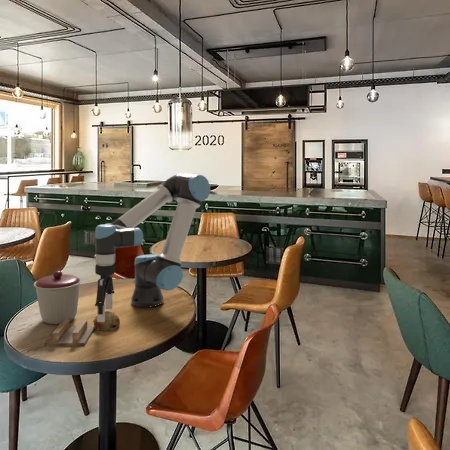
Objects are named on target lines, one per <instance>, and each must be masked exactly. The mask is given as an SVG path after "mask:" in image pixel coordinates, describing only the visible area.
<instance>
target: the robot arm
mask: <svg viewBox="0 0 450 450" xmlns="http://www.w3.org/2000/svg"><path fill="white" fill-rule="evenodd" d="M210 193H211V184H210V183H209V179H207V177H206V176H204V175H203V174H198V173H185V172H183V173H177V174H175V175H173V176H170V177H169V178H168V179H166V180H165V181H163V182H162V183H160V184H159V185H157V187H156V190H155V191H153V192H152V193H151V194H149V195H148V196H147V197H145V198H144V199H142V200H141V201H140V202H138V203H137V204H136V205H134V206H133V207H132V208H130V209H129V210H128V211H125V213H123V214H122V215H121V216H120V217H118V218H117V219H115V221H113V222H108V223H105V224H98V225H97V226H96V227H95V233H94V238H95V241H94V242H95V245H94V246H95V250H94V251H95V254H94V256H93V257H94V259H95V267H94V269H95V275H98V276H100V278H98V279H97V291H96V299H95V301H96V302H95V304H94V306H95V307H96V308H97V309H96V311H97V313H96V316H97V322H105V311H106V310H113V294H115V290H114V289H115V288H114V283H113V282H114V281H113V275H114V274H116V264H115V263H116V249H119V248H129V247H137V246H140V245H142V243H143V241H144V234H143V231H142V229H141V228H139V227H137V226H138V225H139V224H141V223H142V222H143V221H145V220H146V219H147V218H149V217H150V216H151V215H153V214H154V213H155V212H157V210H159V209H160V208H161V207H163V206H165V204H167V203H171V202H173V201H174V200H176V202H177V206H176V209H175V211H174V214H173V217H172V220H171V223H170V227H169V228H168V233H167V235H166V238H165V242H164V244H163V248H162V251H161V253H159V254H157V253H156V254H153V253H152V254H151V253H150V254H141V255H138V256H136V257H135V259H134V289H133V293H132V295H131V298H130V301H131V302H130V303H131V305H132V306H134V307H137V308H142V307H149V308H151V307H150V306H155V305H158V304H160V303H162V302H163V303H164V295H163V291H162V290H164V291H173V290H175V289H176V288H178V287H179V286H180V285H181V282H182V281H183V278H184V273H183V270H182V268H181V267H182V261H181V257H182V252H183V250H184V248H185V244H186V241H187V239H188V236H189V235H188V234H189V231H190V229H191V225H192V223H193V220H194V217H195V216H194V215H195V213H196V210H197V209H199V208H200V207H201V205H202V202H203V201H206V199H208V198H209V196H210ZM163 303H162V304H163Z"/></svg>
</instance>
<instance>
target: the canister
mask: <svg viewBox="0 0 450 450" xmlns="http://www.w3.org/2000/svg"><path fill="white" fill-rule="evenodd" d="M81 283H82V279H81V278H80V277H78V276H76V275H73V274H67V273H66V274H65V273H63V272H62V271H61V270H55V271H54V272H53V273H52V275H47V276H43V277H41V278H39V279H37V280H36V281H34V283H33V287H34V288H35V291H36V299H37V302H38V303H37V304H38V308H39V314H40V317H41V320H42V321H43V322H44V323H46V324H49V325H60V323H61V322H62V321H63V320H69V322H72V321H73V320H74V319H75V318H76V316H77V313H78V305H79V295H80V284H81Z"/></svg>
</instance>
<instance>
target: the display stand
mask: <svg viewBox="0 0 450 450" xmlns="http://www.w3.org/2000/svg"><path fill="white" fill-rule="evenodd" d="M95 329H96V328H95V327H94V326H88V319H81V321H80V322H79V323H78V324H77V326H70V321H69V320H63V321H62V322H61V323H60V324H58V326H57V327H56V328H55V330H53V332H52V334H51V335H50V336H49V337H48V338H47V340H45V342H44V346H45V347H51V346H52V347H54V346H55V347H56V346H57V347H59V346H60V347H61V346H66V347H69V346H70V347H71V346H73V347H75V346H77V347H78V346H80V347H81V346H84V347H85V345H86V344H87V343H88V341H89V340H90V338H91V336H92V334H93V333H94V331H95Z"/></svg>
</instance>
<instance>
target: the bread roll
mask: <svg viewBox="0 0 450 450" xmlns="http://www.w3.org/2000/svg"><path fill="white" fill-rule="evenodd" d="M92 323H93V327H95V329H96V330H97V331H101V332H108V331H110V332H111V331H113V330H115V329H117V328H119V326H120V324H121V320H120V318H119V316H118V314H117V313H115V312H113V311H110V310H109V311H108V310H107V311H106V310H105V322H97V315H96V316H95V317H94V319H93V321H92Z"/></svg>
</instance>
